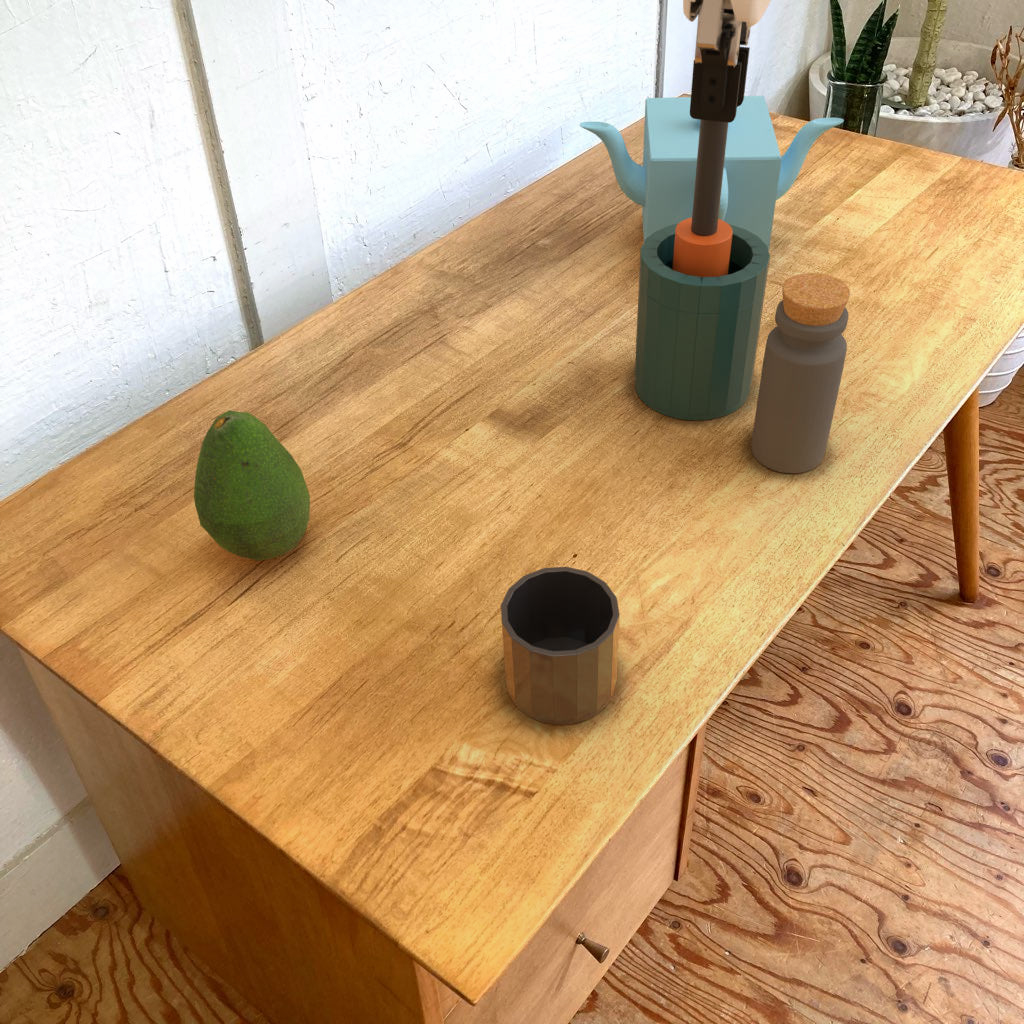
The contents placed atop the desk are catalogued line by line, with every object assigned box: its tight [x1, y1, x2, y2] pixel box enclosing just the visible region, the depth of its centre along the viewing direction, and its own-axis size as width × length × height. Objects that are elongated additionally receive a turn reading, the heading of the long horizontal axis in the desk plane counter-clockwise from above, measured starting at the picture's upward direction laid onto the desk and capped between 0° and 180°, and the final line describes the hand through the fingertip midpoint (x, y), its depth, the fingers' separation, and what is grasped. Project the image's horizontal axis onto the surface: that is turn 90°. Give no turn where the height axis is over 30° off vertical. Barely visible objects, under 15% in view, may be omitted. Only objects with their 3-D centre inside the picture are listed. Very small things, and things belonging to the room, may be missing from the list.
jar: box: [634, 223, 771, 421], centre depth 87 cm, size 10×10×13 cm
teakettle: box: [579, 95, 845, 251], centre depth 104 cm, size 19×19×15 cm
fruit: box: [193, 409, 311, 562], centre depth 75 cm, size 8×8×12 cm
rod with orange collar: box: [672, 28, 733, 277], centre depth 78 cm, size 4×4×19 cm
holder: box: [500, 566, 620, 726], centre depth 67 cm, size 7×7×7 cm
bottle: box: [750, 272, 851, 474], centre depth 80 cm, size 6×6×15 cm
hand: (716, 109), depth 75 cm, fingers closed on rod with orange collar, 2 cm apart
